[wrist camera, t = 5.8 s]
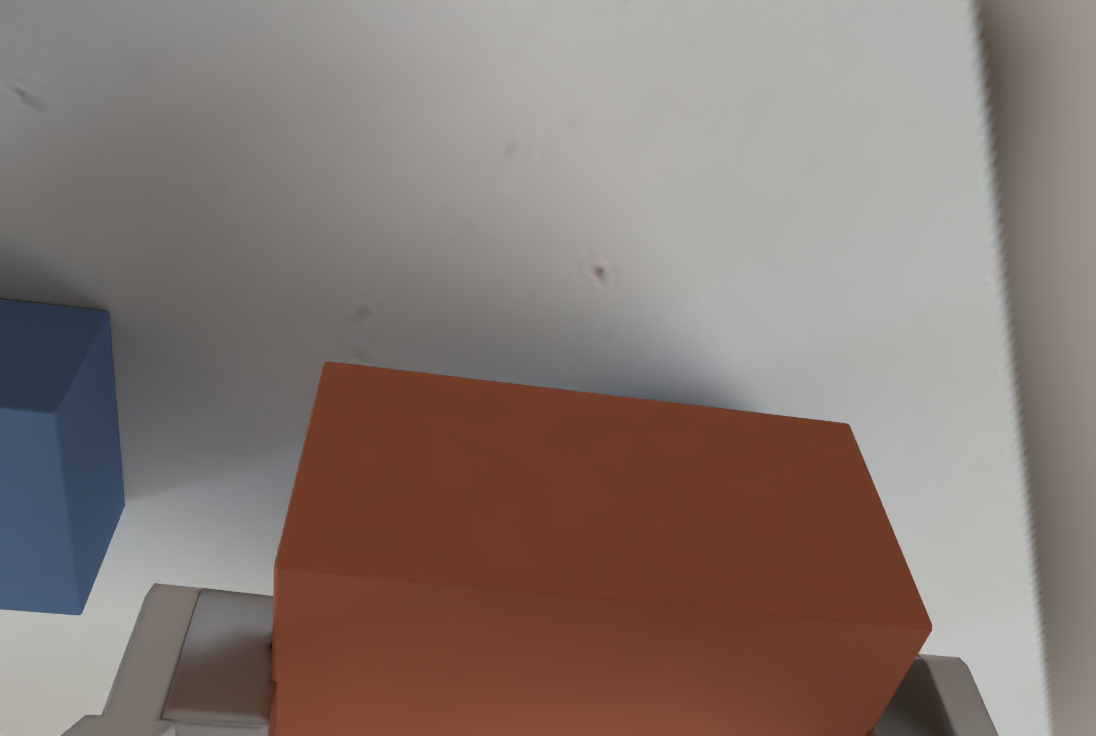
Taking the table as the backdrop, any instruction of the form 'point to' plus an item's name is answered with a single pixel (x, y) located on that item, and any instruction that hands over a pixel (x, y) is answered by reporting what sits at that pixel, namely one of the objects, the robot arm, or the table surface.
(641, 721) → the pad
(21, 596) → the pad
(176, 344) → the table surface
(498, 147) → the table surface
